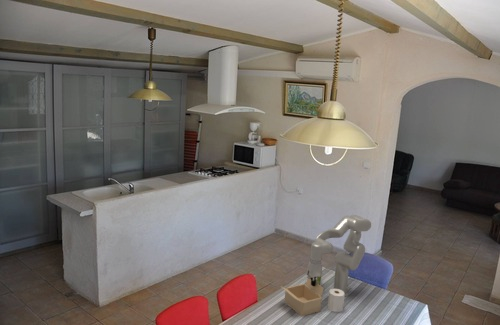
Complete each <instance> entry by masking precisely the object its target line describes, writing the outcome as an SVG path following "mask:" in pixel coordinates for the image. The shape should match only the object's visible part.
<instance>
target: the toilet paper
mask: <svg viewBox="0 0 500 325" xmlns="http://www.w3.org/2000/svg"><path fill="white" fill-rule="evenodd" d="M333 288H334V287H333ZM344 295H345V293H344V292H343V291H342V290H340V289H335V288H334V289H332V288H330V289H329V290H328V299H327V309H328V310H329V311H331V312H333V313H341V312H342V311H344V310H343V309H344V302H345V297H344Z"/></svg>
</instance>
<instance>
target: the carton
mask: <svg viewBox="0 0 500 325" xmlns="http://www.w3.org/2000/svg"><path fill="white" fill-rule="evenodd" d="M305 284H306V283H302V284H297V285H293V286H289V287H286V288H285V289H287V290H288V291H289V292H290V293H292V294H293V295H294V296H295V297H296V298H298V299H299V300H300V301H301V302H300V301H298V300H296V299H295V298H293V297H292V296H291V295H290V294H289V293H288V292H286V291H285V290H284V303H286V304H287V306H289V308H291V309H292V311H293V310H295V311H294V312H295V313H297V314H298V316H300V317H304V316H308V314H309V315H311V314H316V313H319V312H322V310H321V307H322V300H323V299H322V296H320V295H318V294H317V293H316V292H314V291H313V290H312V289H310V288H309V287H307V285H305ZM315 312H316V313H315Z"/></svg>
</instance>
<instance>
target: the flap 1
mask: <svg viewBox="0 0 500 325" xmlns="http://www.w3.org/2000/svg"><path fill="white" fill-rule="evenodd" d="M280 288H281V289H282V290H284V292H285V291H286V292H288V293H289V294H290V295H291V296H292V297H293V298H295V299H296V300H298V301H300V300H299V299H298V298H296V297H295V296H294V295H293V294H292V293H290V292H289V291H288V290H287V289H286V288H285V287H284V286H282V285H280ZM300 302H301V301H300Z"/></svg>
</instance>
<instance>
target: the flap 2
mask: <svg viewBox="0 0 500 325" xmlns="http://www.w3.org/2000/svg"><path fill="white" fill-rule="evenodd" d="M304 284H305V285H306V286H308V287H309V288H311V290H313V291H314V292H315V293H316V294H318V295H319V296H320V297H322V296H323V292H324V289H325V288H324V287H323V286H322V285H321V284H320V285H319V284H317V283H316V286H312V285H311V279H308V278H307V277H306V281H305V283H304Z"/></svg>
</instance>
